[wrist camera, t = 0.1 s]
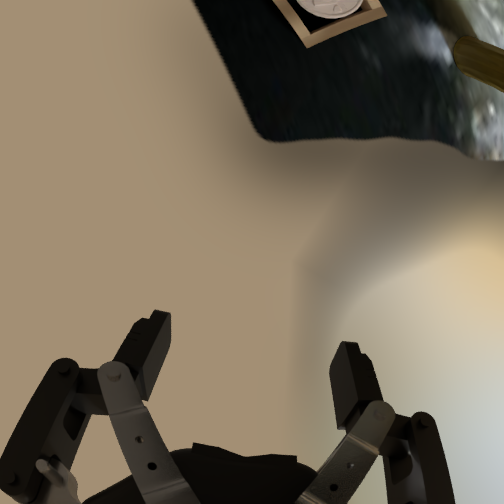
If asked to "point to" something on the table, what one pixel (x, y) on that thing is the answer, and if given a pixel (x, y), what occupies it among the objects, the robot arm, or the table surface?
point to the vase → (480, 61)
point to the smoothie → (330, 7)
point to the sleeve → (369, 13)
